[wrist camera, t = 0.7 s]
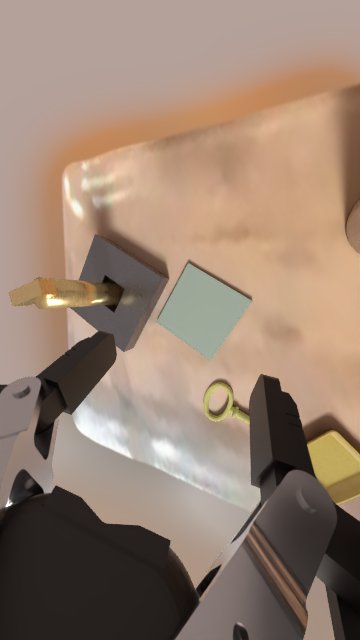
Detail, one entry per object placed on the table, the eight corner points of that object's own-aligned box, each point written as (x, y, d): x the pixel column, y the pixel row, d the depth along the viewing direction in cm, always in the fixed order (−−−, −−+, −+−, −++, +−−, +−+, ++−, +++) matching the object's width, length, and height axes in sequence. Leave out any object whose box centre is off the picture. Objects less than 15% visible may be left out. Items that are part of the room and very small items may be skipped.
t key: (129, 280, 36) (35, 269, 21) (134, 300, 36) (44, 304, 21) (107, 288, 39) (6, 283, 23) (111, 306, 39) (14, 314, 23)
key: (277, 433, 30) (278, 442, 28) (203, 414, 35) (200, 421, 33) (281, 391, 29) (283, 398, 27) (204, 377, 34) (201, 382, 32)
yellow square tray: (329, 420, 27) (335, 429, 25) (381, 470, 25) (391, 485, 24) (280, 447, 30) (282, 457, 28) (324, 493, 28) (329, 508, 27)
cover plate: (106, 238, 37) (95, 234, 34) (169, 278, 33) (161, 277, 30) (81, 306, 42) (69, 307, 39) (133, 347, 38) (123, 352, 35)
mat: (189, 263, 31) (188, 263, 31) (252, 300, 28) (252, 301, 28) (158, 321, 35) (156, 321, 34) (210, 359, 32) (210, 361, 32)
